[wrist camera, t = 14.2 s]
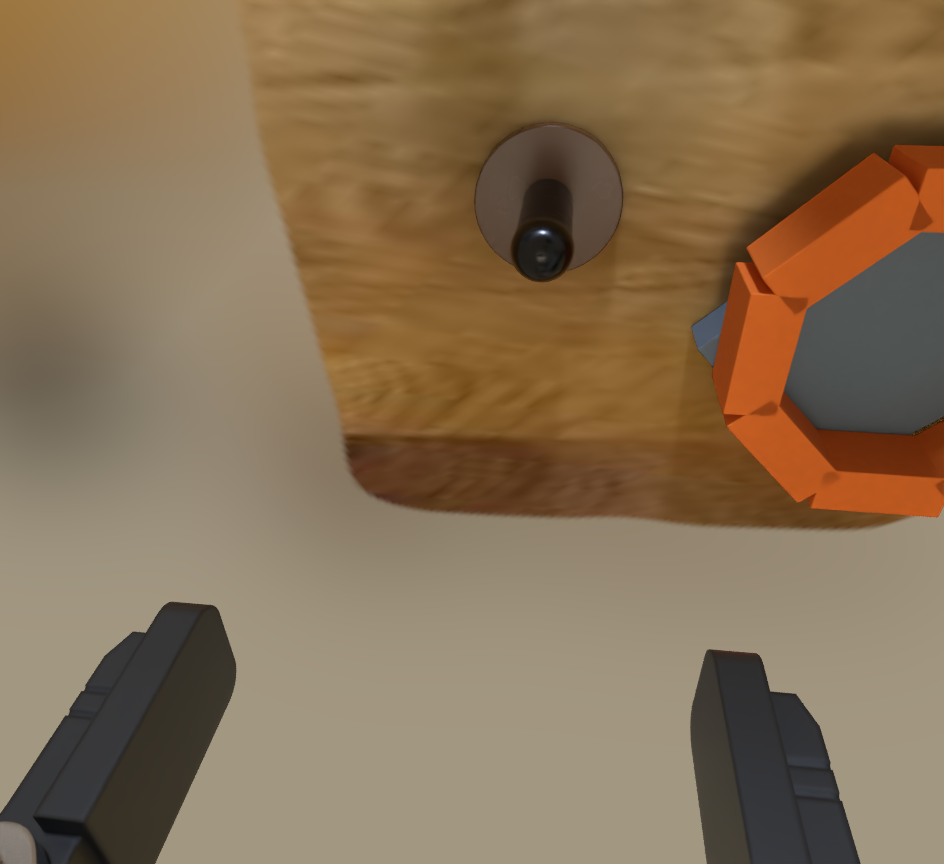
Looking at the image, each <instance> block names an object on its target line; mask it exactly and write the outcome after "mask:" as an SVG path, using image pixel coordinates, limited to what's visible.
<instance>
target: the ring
mask: <svg viewBox="0 0 944 864" xmlns="http://www.w3.org/2000/svg"><path fill="white" fill-rule="evenodd" d="M921 232H934V233H944V146H919V145H894V147H893V150H892V153H891V156H890V159H889V162H886V161H885V160H884V159H882V158H881V157H879V156H878V155H877V154H875V153H872V154H871V155H870V156H868V157H867V158H866V159H864V160H863V161H862V162H860V163H859V164H858V165H856V166H855V167H853V168H852V169H851V170H849V171H848V172H847V173H845V174H844V175H843V176H841V177H840V178H839V179H837V180H836V181H835V182H833V183H832V184H831V185H829V186H828V187H827V188H825V189H824V190H823V191H821V192H820V193H819V194H817V195H816V196H815V197H813V198H812V199H811V200H809V201H808V202H807V203H805V204H804V205H803V206H801V207H800V208H799V209H797V210H796V211H795V212H793V213H792V214H791V215H789V216H788V217H787V218H785V219H784V220H783V221H781V222H780V223H779V224H777V225H776V226H775V227H773V228H772V229H770V230H769V231H768V232H766V233H765V234H764V235H762V236H761V237H760V238H758V239H757V240H756V241H754V242H753V243H752V244H750V245H749V246H748V247H747V251H748V253H749V255H750V257H751V259H752V260H753V262H754V263H746V262H736V264H735V269H734V274H733V278H732V283H731V288H730V292H729V297H728V302H727V306H726V311H725V316H724V320H723V325H722V330H721V335H720V339H719V344H718V349H717V353H716V358H715V363H714V367H713V372H712V377H713V381H714V384H715V389H716V392H717V396H718V399H719V402H720V406H721V409H722V412H723V416H724V419H725V423H726V426H727V428H728V429H729V430H730V431H731V432H732V433H733V434H734V435H735V436H736V437H737V438H738V440H739V441H740V442H741V443H742V444H743V445H744V446H745V447H746V448H747V449H748V450H749V451H750V452H751V453H752V455H753V456H754V457H755V458H756V459H757V460H758V461H759V462H760V463H761V464H762V465H763V466H764V467H765V468H766V469H767V471H768V472H769V473H770V474H771V475H772V476H773V477H774V478H775V479H776V480H777V481H778V482H779V483H780V484H781V486H782V487H783V488H784V489H785V490H786V491H787V492H788V493H789V494H790V495H791V496H792V497H793V498H794V499H795V501H796V502H800V501H802V500H804V499H806V498H807V500H808V502H809V505H810V507H811V508H817V509H831V510H844V511H858V512H871V513H885V514H898V515H912V516H926V517H938V516H939V514H940V512H941V510H942V508H943V506H944V420H943V421H941V422H939V423H937V424H936V425H934V426H932V427H930V428H928V429H926V430H924V431H923V432H921V433H919V434H917V435H915V436H914V435H898V434H882V433H866V432H850V431H834V430H818V429H816V428H815V427H814V426H813V425H812V423H811V422H810V421H809V420H808V419H807V418H806V416H805V415H804V414H803V413H802V412H801V411H800V410H799V408H798V407H797V406H796V405H795V404H794V403H793V402H792V400H791V399H790V398H789V397H788V396H787V395H786V394H785V392H784V388H785V385H786V381H787V378H788V374H789V371H790V367H791V364H792V360H793V356H794V353H795V349H796V346H797V342H798V339H799V335H800V332H801V328H802V325H803V321H804V318H805V314H806V311H807V309H808V308H809V307H811V306H812V305H814V304H815V303H816V302H818V301H819V300H821V299H822V298H824V297H825V296H827V295H828V294H830V293H831V292H833V291H834V290H836V289H837V288H839V287H840V286H842V285H843V284H845V283H846V282H848V281H849V280H851V279H852V278H854V277H855V276H857V275H858V274H860V273H861V272H863V271H864V270H866V269H867V268H869V267H870V266H872V265H873V264H875V263H876V262H878V261H879V260H881V259H882V258H884V257H885V256H887V255H888V254H890V253H891V252H893V251H894V250H896V249H897V248H899V247H900V246H902V245H903V244H905V243H906V242H908V241H909V240H911V239H912V238H913V237H915V236H916V235H918V234H919V233H921Z"/></svg>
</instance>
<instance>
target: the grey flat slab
mask: <svg viewBox="0 0 944 864" xmlns="http://www.w3.org/2000/svg"><path fill="white" fill-rule="evenodd" d="M727 302H728V301H727ZM727 302H726V303H724V304H723V305H721V306H720V307H719V308H717V309H716V310H714V311H713V312H712V313H710V314H709V315H707V316H706V317H705V318H703V319H702V320H700V321H699V322H698V323H696V324H695V325H693V326H692V327H691V328H692V332H693V335H694V339H695V342H696V346H697V349H698V351H699V352H700V353H701V354H702V355H703V356H704V357H705V358H706V359H707V361H708V362H709V363H710V364H711V365H712V366H713V367H714V363H715V358H716V353H717V349H718V344H719V339H720V335H721V330H722V325H723V320H724V316H725V311H726V306H727ZM784 392H785V394H786V395H787V396H788V397H789V398H790V399H791V400H792V402H793V403H794V404H795V405H796V406H797V407H798V408H799V410H800V411H801V412H802V413H803V414H804V415H805V416H806V418H807V419H808V420H809V421H810V422H811V423H812V425H813V426H814V427H815V428H816V429H818V430H834V431H850V432H866V433H882V434H898V435H910V434H912V433H914V432H915V431H917V430H919V429H921V428H923V427H925V426H927V425H929V424H930V423H932V422H934V421H936V420H938V419H940V418H942V417H943V416H944V233H934V232H921V233H919V234H918V235H916V236H915V237H913V238H912V239H911V240H909V241H908V242H906V243H905V244H903V245H902V246H900V247H899V248H897V249H896V250H894V251H893V252H891V253H890V254H888V255H887V256H885V257H884V258H882V259H881V260H879V261H878V262H876V263H875V264H873V265H872V266H870V267H869V268H867V269H866V270H864V271H863V272H861V273H860V274H858V275H857V276H855V277H854V278H852V279H851V280H849V281H848V282H846V283H845V284H843V285H842V286H840V287H839V288H837V289H836V290H834V291H833V292H831V293H830V294H828V295H827V296H825V297H824V298H822V299H821V300H819V301H818V302H816V303H815V304H814V305H812V306H811V307H809V308H808V309H807V311H806V314H805V318H804V321H803V325H802V328H801V332H800V335H799V339H798V342H797V346H796V349H795V353H794V356H793V360H792V364H791V367H790V371H789V374H788V378H787V381H786V385H785V388H784Z"/></svg>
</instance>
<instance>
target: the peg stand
mask: <svg viewBox="0 0 944 864" xmlns="http://www.w3.org/2000/svg"><path fill="white" fill-rule="evenodd" d="M622 206H623V191H622V183H621V178H620V174H619V171H618V168H617V165H616V163H615V161H614V159H613V157H612V156H611V154H610V153H609V151H608V150H607V149H606V147H605V146H604V145H603V144H602V143H601V142H600V141H599V140H598V139H596V138H595V137H594V136H593V135H591V134H590V133H588V132H586V131H585V130H583V129H581V128H578V127H576V126H573V125H569V124H565V123H557V122H543V123H537V124H532V125H529V126H526V127H523V128H521V129H519V130H517V131H515V132H513V133H512V134H510V135H509V136H507V137H506V138H505V139H503V140H502V141H501V142H500V143H499V144H498V145H497V146H496V147H495V148H494V150H493V151H492V152H491V153H490V155H489V156H488V158H487V159H486V161H485V163H484V165H483V167H482V170H481V172H480V175H479V178H478V181H477V185H476V190H475V213H476V218H477V222H478V225H479V228H480V230H481V232H482V234H483V236H484V238H485V240H486V241H487V243H488V244H489V246H490V247H491V248H492V249H493V250H494V251H495V252H496V253H497V254H498V255H499V256H500V257H501V258H502V259H504V260H505V261H507V262H508V263H510V264H512V265H513V266H514V267H515V268H516V270H517V271H518V272H519V273H520V274H521V275H522V276H523V277H525V278H527V279H529V280H531V281H534V282H549V281H552V280H555V279H557V278H558V277H560V276H561V275H563V274H564V273H565V272H566V271H569V270H572V269H574V268H577V267H579V266H581V265H583V264H585V263H587V262H588V261H590V260H591V259H592V258H594V257H595V256H596V255H597V254H598V253H599V252H600V251H602V250H603V248H604V247H605V246H606V245H607V243H608V242H609V241H610V239H611V238H612V236H613V234H614V232H615V230H616V228H617V226H618V223H619V220H620V217H621V212H622Z"/></svg>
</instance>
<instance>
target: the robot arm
mask: <svg viewBox="0 0 944 864" xmlns="http://www.w3.org/2000/svg"><path fill="white" fill-rule="evenodd" d="M235 680H236V663H235V658H234V656H233V652H232V650H231V646H230V644H229V640H228V637H227V634H226V631H225V629H224V625H223V622H222V619H221V616H220V613H219V611H218V609H217V608H216V607H215V606H213V605H203V604H192V603H191V604H190V603H180V602H169V603H167V604H166V605H164V606H163V607H162V609H161V610H160V611H159V613H158V614H157V616H156V617H155V619H154V621H153V623H152V624H151V625H150V627H149V629H148V630H147V632H146V633H141V632H132V633H131V634H130V635H129V636H127V637H126V638H125V639H124V640H123V641H122V642H121V643H119V644H118V645H117V646H116V647H115V648H114V649H112V650H111V651H110V652H109V653H108V654H107V655H105V656H104V658H103V659H102V661H101V663H100V664H99V665H98V667H97V668H96V670H95V671H94V673H93V674H92V676H91V677H90V679H89V681H88V682H87V684H86V685H85V686H86V688H85V690H84V691H81V693H80V694H79V696H78V697H77V699H76V700H75V702H74V703H73V705H72V706H71V708H70V713H69V715H68V716H65V717H64V719H63V720H62V722H61V724H60V725H59V726H58V728H57V729H56V731H55V732H54V734H53V735H52V737H51V738H50V740H49V741H48V743H47V744H46V746H45V747H44V749H43V750H42V752H41V753H40V755H39V757H38V758H37V760H36V761H35V763H34V764H33V766H32V767H31V769H30V770H29V772H28V773H27V775H26V776H25V778H24V779H23V781H22V782H21V784H20V786H19V787H18V788H17V790H16V792H15V793H14V794H13V796H12V797H11V799H10V801H9V802H8V804H7V805H6V806H5V808H4V809H3V811H2V812H1V813H0V864H155V863H156V860H157V858H158V856H159V854H160V852H161V849H162V847H163V845H164V843H165V841H166V839H167V836H168V834H169V832H170V830H171V828H172V825H173V823H174V821H175V819H176V817H177V815H178V812H179V810H180V808H181V806H182V804H183V802H184V799H185V797H186V795H187V793H188V791H189V788H190V786H191V784H192V782H193V780H194V778H195V775H196V773H197V771H198V769H199V767H200V764H201V762H202V760H203V758H204V756H205V753H206V751H207V749H208V747H209V745H210V743H211V740H212V738H213V736H214V734H215V731H216V729H217V727H218V725H219V723H220V721H221V718H222V716H223V714H224V712H225V710H226V708H227V705H228V703H229V701H230V699H231V696H232V693H233V689H234V685H235ZM690 728H691V747H692V755H693V762H694V770H695V778H696V785H697V792H698V800H699V807H700V815H701V822H702V830H703V838H704V845H705V853H706V859H707V864H860V860H859V857H858V854H857V850H856V847H855V844H854V840H853V837H852V834H851V830H850V827H849V824H848V820H847V817H846V813H845V810H844V807H843V803H842V801H840V799H839V790H838V787H837V784H836V780H835V776H834V773H833V770H831V768H830V760H829V756H828V753H827V749H826V747H825V743H824V739H823V736H822V733H821V729H820V726H819V725H818V724H817V722H816V721H815V720H814V718H813V717H812V715H811V714H810V713H809V711H808V710H807V709H806V707H805V706H804V705H803V703H802V702H801V700H800V699H799V698H798V696H797V695H796V694H791V693H780V692H770V689H769V685H768V681H767V677H766V673H765V669H764V665H763V662H762V659H761V657H760V656H759V655H758V654H756V653H745V652H732V651H721V650H707V652H706V654H705V657H704V661H703V665H702V669H701V673H700V677H699V681H698V685H697V689H696V693H695V697H694V701H693V705H692V711H691V727H690Z"/></svg>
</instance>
